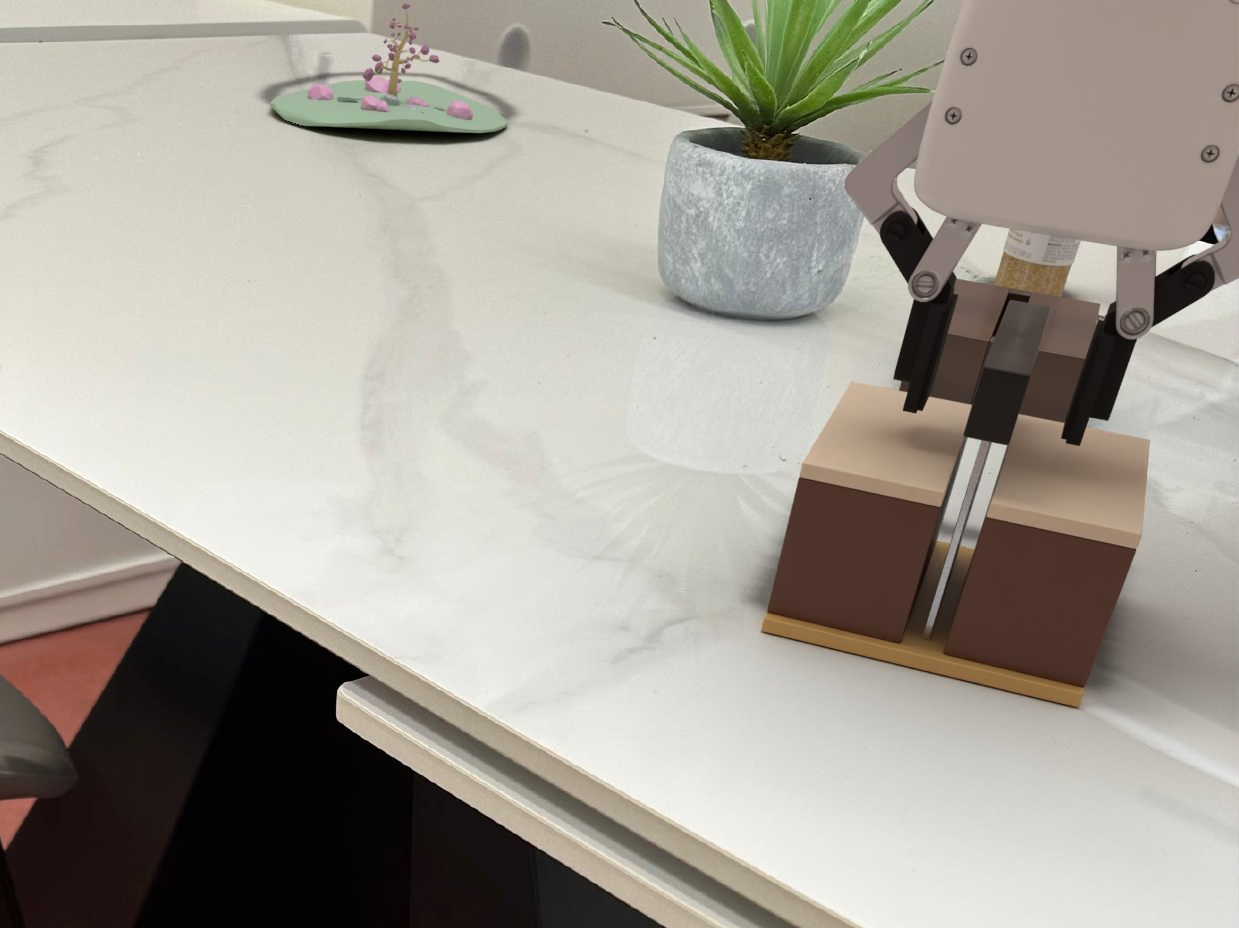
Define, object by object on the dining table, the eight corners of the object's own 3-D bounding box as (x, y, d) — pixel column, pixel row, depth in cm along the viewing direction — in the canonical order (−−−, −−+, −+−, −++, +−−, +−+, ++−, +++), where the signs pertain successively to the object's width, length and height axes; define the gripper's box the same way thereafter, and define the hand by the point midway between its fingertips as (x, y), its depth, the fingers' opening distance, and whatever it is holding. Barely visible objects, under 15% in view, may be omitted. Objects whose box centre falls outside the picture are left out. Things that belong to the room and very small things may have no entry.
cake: (815, 527, 73) (853, 377, 69) (1094, 588, 69) (1150, 435, 66) (760, 631, 64) (799, 466, 60) (1078, 708, 60) (1142, 539, 56)
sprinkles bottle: (972, 300, 106) (1037, 72, 98) (1033, 300, 107) (1102, 74, 99) (1010, 322, 103) (1081, 87, 95) (1072, 322, 104) (1148, 89, 96)
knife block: (924, 345, 97) (943, 276, 95) (1077, 374, 95) (1100, 303, 92) (895, 402, 88) (915, 327, 86) (1064, 435, 86) (1089, 359, 83)
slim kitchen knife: (935, 549, 70) (1009, 299, 64) (973, 557, 70) (1051, 306, 64) (902, 640, 63) (983, 366, 56) (944, 650, 62) (1030, 375, 56)
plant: (270, 78, 152) (274, -33, 146) (489, 94, 153) (500, -15, 148) (269, 134, 132) (273, 8, 126) (521, 152, 133) (535, 28, 128)
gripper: (1450, -124, 52) (1230, 435, 62) (908, -178, 56) (790, 350, 67) (1481, -114, 46) (1233, 499, 57) (875, -175, 51) (751, 402, 61)
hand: (994, 413), depth 62 cm, fingers open, 5 cm apart
